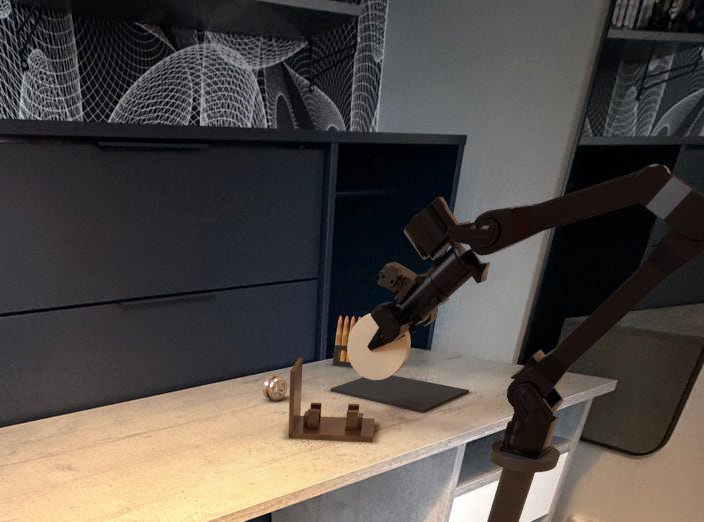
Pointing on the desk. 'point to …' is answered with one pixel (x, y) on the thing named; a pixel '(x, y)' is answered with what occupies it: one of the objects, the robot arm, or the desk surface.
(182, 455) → the desk surface
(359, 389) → the mat
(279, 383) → the metal grooved wheel
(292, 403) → the stand
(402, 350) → the plate
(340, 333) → the ammunition clip
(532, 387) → the robot arm
